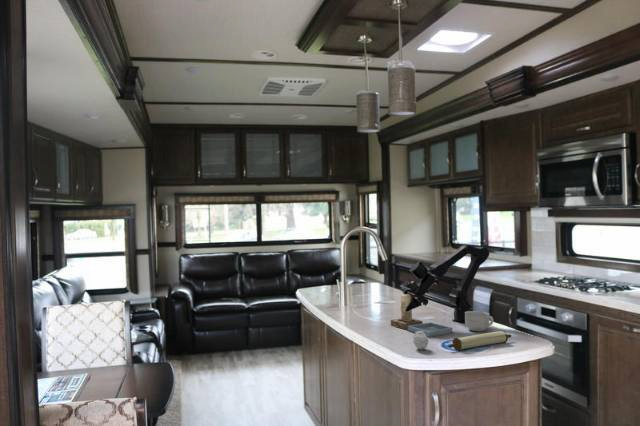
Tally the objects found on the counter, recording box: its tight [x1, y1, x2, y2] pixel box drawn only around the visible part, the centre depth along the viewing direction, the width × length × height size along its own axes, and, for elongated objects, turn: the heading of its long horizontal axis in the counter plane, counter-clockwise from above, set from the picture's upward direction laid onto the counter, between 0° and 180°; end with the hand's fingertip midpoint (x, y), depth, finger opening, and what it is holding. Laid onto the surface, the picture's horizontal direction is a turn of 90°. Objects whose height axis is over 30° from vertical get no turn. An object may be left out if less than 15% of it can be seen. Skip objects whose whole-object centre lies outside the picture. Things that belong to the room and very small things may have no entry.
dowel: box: [400, 294, 413, 323], centre depth 235 cm, size 5×5×14 cm
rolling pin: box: [447, 330, 512, 352], centre depth 197 cm, size 32×6×5 cm, turn 114°
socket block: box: [390, 317, 423, 330], centre depth 235 cm, size 11×11×2 cm
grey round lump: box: [412, 331, 429, 351], centre depth 195 cm, size 6×7×7 cm
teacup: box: [464, 310, 494, 332], centre depth 222 cm, size 14×11×8 cm
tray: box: [407, 321, 453, 338], centre depth 222 cm, size 14×14×2 cm
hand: (403, 310), depth 234 cm, fingers closed on dowel, 5 cm apart
